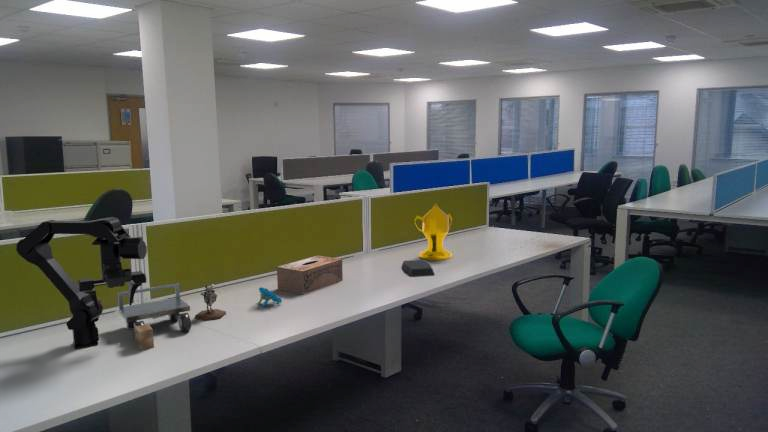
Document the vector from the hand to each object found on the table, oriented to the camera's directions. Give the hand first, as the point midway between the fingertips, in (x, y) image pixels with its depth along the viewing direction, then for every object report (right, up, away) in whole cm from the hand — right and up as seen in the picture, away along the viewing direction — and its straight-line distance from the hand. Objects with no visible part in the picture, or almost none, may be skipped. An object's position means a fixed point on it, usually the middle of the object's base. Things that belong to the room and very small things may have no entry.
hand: (114, 307), depth 176 cm
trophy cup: (+111, +7, +123) cm, 166 cm away
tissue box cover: (+52, -2, +69) cm, 87 cm away
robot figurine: (+21, -8, +29) cm, 36 cm away
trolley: (+8, -10, +15) cm, 19 cm away
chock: (+10, -12, 0) cm, 15 cm away
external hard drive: (+100, +2, +92) cm, 136 cm away
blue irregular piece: (+40, -6, +42) cm, 58 cm away
